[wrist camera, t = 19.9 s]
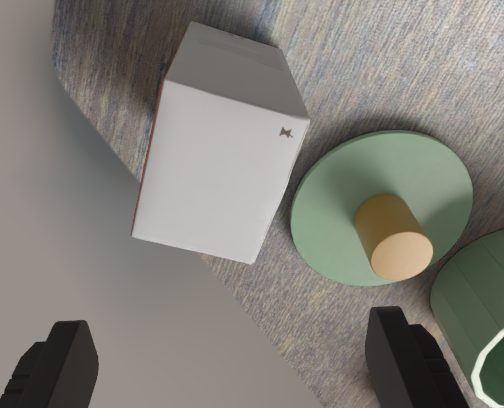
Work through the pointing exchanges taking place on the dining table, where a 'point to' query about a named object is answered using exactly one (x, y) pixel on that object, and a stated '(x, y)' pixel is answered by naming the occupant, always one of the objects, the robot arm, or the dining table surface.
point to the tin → (475, 314)
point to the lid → (381, 208)
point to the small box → (220, 146)
